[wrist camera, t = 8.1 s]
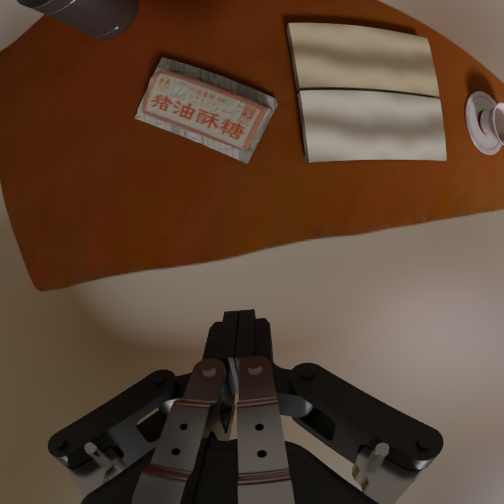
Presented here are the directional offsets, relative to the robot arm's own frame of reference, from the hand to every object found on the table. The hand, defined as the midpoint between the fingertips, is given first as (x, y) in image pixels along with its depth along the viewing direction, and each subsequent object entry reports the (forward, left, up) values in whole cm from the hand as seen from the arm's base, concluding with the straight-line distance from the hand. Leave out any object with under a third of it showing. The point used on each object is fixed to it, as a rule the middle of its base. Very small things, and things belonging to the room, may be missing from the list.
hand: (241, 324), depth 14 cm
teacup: (-13, +44, -27) cm, 53 cm away
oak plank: (-21, +19, -27) cm, 39 cm away
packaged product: (-15, -5, -28) cm, 32 cm away
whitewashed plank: (-11, +19, -27) cm, 34 cm away
